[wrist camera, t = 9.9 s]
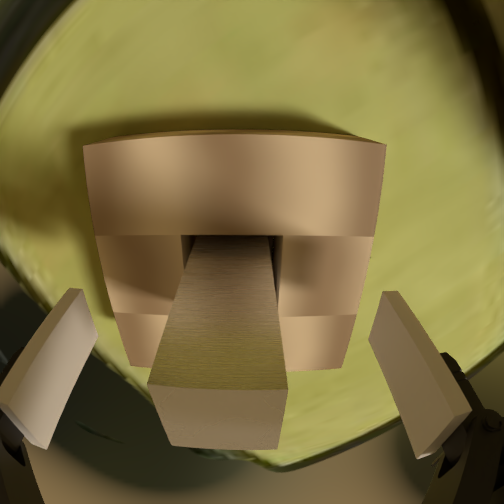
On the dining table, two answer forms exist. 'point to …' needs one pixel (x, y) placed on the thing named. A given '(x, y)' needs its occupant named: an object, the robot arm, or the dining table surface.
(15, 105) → the dining table surface
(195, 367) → the square bit
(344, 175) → the socket block
